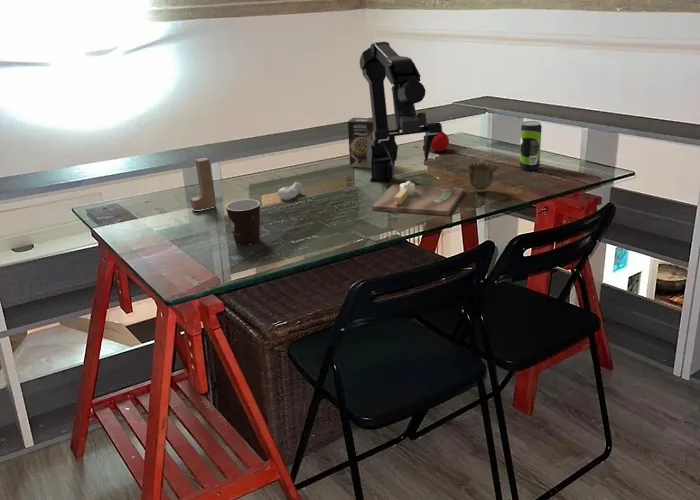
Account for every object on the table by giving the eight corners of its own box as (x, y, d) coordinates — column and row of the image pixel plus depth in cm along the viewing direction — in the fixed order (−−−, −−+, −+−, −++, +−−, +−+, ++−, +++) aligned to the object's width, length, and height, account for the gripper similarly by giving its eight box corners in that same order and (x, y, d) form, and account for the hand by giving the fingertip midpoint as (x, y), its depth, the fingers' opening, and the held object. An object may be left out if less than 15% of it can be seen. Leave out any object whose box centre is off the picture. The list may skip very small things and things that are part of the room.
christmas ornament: (428, 153, 241) (428, 126, 238) (429, 148, 248) (429, 121, 244) (448, 153, 240) (448, 125, 236) (449, 148, 247) (449, 121, 243)
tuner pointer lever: (402, 190, 201) (402, 180, 200) (416, 191, 199) (416, 181, 198) (388, 206, 189) (387, 195, 188) (403, 207, 187) (403, 196, 186)
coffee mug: (232, 236, 179) (227, 200, 175) (264, 233, 179) (260, 198, 175) (228, 253, 168) (223, 216, 164) (263, 250, 169) (258, 213, 165)
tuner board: (372, 210, 191) (371, 205, 190) (392, 188, 208) (392, 183, 207) (448, 215, 183) (448, 210, 183) (463, 192, 200) (463, 187, 200)
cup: (493, 196, 195) (494, 170, 192) (467, 196, 197) (467, 169, 194) (493, 188, 202) (494, 162, 199) (468, 188, 204) (468, 162, 200)
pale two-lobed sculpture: (284, 205, 203) (275, 197, 206) (306, 198, 207) (296, 190, 210) (285, 194, 200) (275, 185, 203) (307, 187, 204) (297, 179, 207)
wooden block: (212, 205, 203) (205, 157, 197) (216, 208, 201) (209, 159, 195) (191, 209, 200) (184, 161, 194) (195, 212, 198) (187, 163, 192)
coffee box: (349, 167, 231) (346, 121, 225) (354, 162, 237) (352, 117, 230) (375, 168, 228) (372, 121, 222) (379, 163, 234) (377, 117, 228)
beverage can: (541, 167, 219) (544, 121, 213) (535, 172, 214) (538, 125, 208) (523, 165, 222) (525, 120, 216) (516, 170, 217) (518, 124, 211)
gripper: (374, 108, 176) (381, 167, 178) (444, 100, 177) (449, 159, 180) (369, 110, 187) (375, 166, 189) (435, 102, 188) (440, 158, 191)
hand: (410, 162), depth 187 cm, fingers open, 9 cm apart
